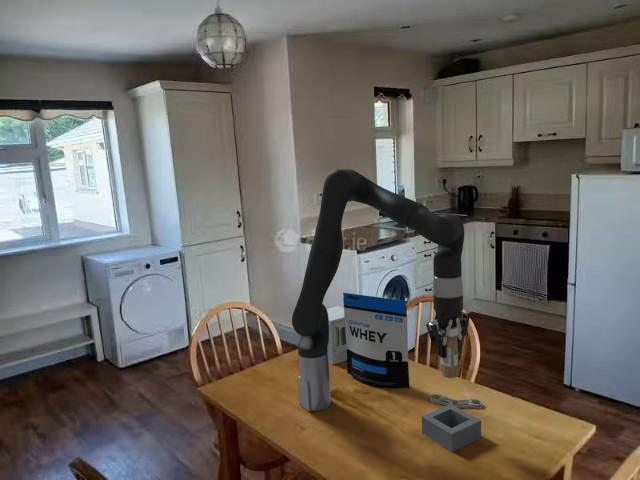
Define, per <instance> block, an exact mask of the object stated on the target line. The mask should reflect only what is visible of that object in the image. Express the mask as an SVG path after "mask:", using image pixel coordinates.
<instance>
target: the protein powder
mask: <svg viewBox="0 0 640 480" xmlns="http://www.w3.org/2000/svg"><path fill="white" fill-rule="evenodd" d="M342 295H343V297H342V298H343V300H342V301H343V302H342V303H343V308H344V319H345V334H346V347H347V360H346V363H347V364H346V366H347V374H349V375H350V376H351V378H352V379H354V380H355V381H357V382H358V383H361V384H363V385H365V386H369V387H373V388H378V389H389V390H391V389H392V390H397V389H410V371H409V340H408V339H409V337H408V336H409V335H408V334H409V333H408V308H407V300H402V299H394V298H386V297H380V296H379V297H378V296H372V295H371V296H370V295H365V294H364V295H363V294H357V293H348V292H342Z"/></svg>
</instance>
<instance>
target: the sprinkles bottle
mask: <svg viewBox="0 0 640 480" xmlns="http://www.w3.org/2000/svg"><path fill="white" fill-rule="evenodd" d="M440 331H441V332H443V333H444V332H445V331H443V330H441V329H440ZM457 336H458V328H457V327H454V328H451V329H450V333H449V336H448V337H447V341H446V345H447V357H446V358H441V357H440V359H441V362H440V363H441V376H443V377H444V378H447V379H455V378H458V377H459V375H460V373H459V372H460V371H459V353H458V341H457ZM442 337H443V336H441V339H442Z"/></svg>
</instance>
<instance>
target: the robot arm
mask: <svg viewBox="0 0 640 480" xmlns="http://www.w3.org/2000/svg"><path fill="white" fill-rule="evenodd" d="M348 202H349V203H350V202H355V203H359V204H360V203H361V204H364V205H367V206H370V207H371V208H374V209H375V210H377V211H379V212H380V213H381V214H382V215H384V216H385V217H386V218H388V219H390V220H391V221H393V222H395V223H397V224H399V225H401V226H403V227H406V228H407V229H409V230H410V229H411V230H414V231H415V232H416V233H418V234H419V235H420V236H422V237H423V238H424V239H426V240H428V241H429V242H431V243H432V244H433V243H434V244H435V245H437V251H436V253H435V255H434V256H433V262H432V263H433V264H432V265H433V266H432V267H433V281H432V288H433V289H432V296H433V298H432V299H433V304H432V305H433V310H434V312H435V316H434V320H433V321H432V322H429V321H428V322H427V323H426V329H427V333H428V336H429V338H430V342H431V343H433V344H436V345H437V355H438V357H440V359H441V358H446V357H447V345H446V341H447V337H448V336H449V333H450V329H451V328H454V327H457V328H458V336H457V341H458V354H460V353H461V349H462V344H461V343H462V338H463V337H466V336H467V335H468V328H469V324H470V320H471V314H470V313H467V312H464V311H463V310H464V283H463V281H464V280H463V276H462V275H463V273H462V271H463V270H462V269H463V268H462V255H463V250H464V249H463V248H464V242H465V225H464V223H463V221H462V218H460V217H459V216H458V215H455V214H452V213H451V214H445V215H444V216H440V215H438V214H435V213H434V212H431V211H430V209H429V208H428V207H427V206H425V205H424V204H422V203H420V202H418V201H416V200H414V199H410V198H408V197H406V196H403V195H400V194H397V193H395V192H394V191H391V190H388V189H387V188H384V187H383V186H380V185H379V184H377V183H375V182H373V181H372V180H370V179H369V178H367V177H366V176H364V175H363V174H361V173H360V172H358V171H356V170H354V169H343V168H342V169H341V168H336V169H334V170H332V171H330V172H329V173H328V174H327V176H326V178H325V180H324V183H323V186H322V196H321V201H320V208H319V215H318V219H317V224H316V227H315V231H314V236H313V240H312V243H311V247H310V249H309V250H310V251H309V255H308V259H307V265H306V268H305V272H304V277H303V282H302V286H301V289H300V293H299V296H298V299H297V302H296V304H295V307H294V310H293V313H292V316H291V324H292V328H293V330H294V331H295V332H296V334H298V335H299V336H300V339H299V342H298V344H297V355H298V356H297V357H298V367H299V368H298V369H299V371H298V372H299V375H298V376H297V390H298V391H297V392H298V401H299V403H298V404H299V405H300V406H301V407H302V408H303V409H305V410H306V411H307V412H308V413H309V412H318V411H323V410H326V409H328V408H329V407H330V406H331V404H332V401H331V400H332V398H331V397H332V396H331V383H330V366H329V364H330V363H328V342H329V318H328V312H327V309H328V308H326V305H325V304H324V299H325V296H326V294H327V292H328V289H329V288H330V286H331V284H332V281H333V280H334V278H335V276H336V274H337V272H338V268H339V266H340V262H341V259H342V256H343V251H344V239H343V237H344V236H343V230H342V224H343V223H342V222H343V221H342V220H343V217H344V214H345V210H346V207H347V204H348ZM440 329H441V330H443V331H445V332H444V333H443V332H441V331H440ZM441 336H443V337H442V339H441Z"/></svg>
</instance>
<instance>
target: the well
mask: <svg viewBox="0 0 640 480" xmlns="http://www.w3.org/2000/svg"><path fill="white" fill-rule="evenodd" d="M451 426H452V427H451ZM421 433H422V434H423V435H425V436H426V437H428V438H429V439H431V440H432V441H434V442H435V443H436V444H439V445H440V446H441V447H443V448H444V449H446V450H448V451H449V452H451V453H453V452H455V451H457V450H459V449H461V448H463V447H466V446H467V445H470V444H471V443H473V442H475V441H477V440H480V439H482V420H481V419H479V418H478V417H476V416H474V415H471V414H470V413H468V412H466V411H465V410H462V408H457V407H455V405H454V406H453V405H451V404H449V405H447V406H442V407H440V408H437V409H436V410H434V411H431V412H429V413H426V414H424V415H421Z"/></svg>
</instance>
